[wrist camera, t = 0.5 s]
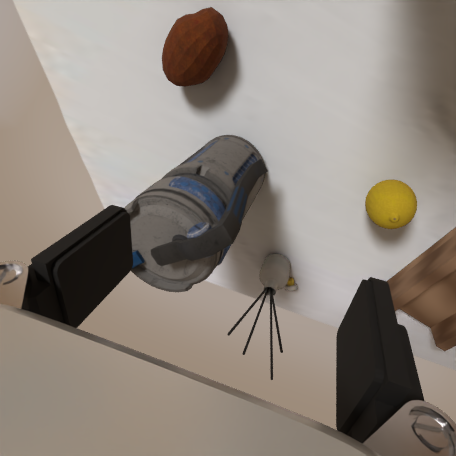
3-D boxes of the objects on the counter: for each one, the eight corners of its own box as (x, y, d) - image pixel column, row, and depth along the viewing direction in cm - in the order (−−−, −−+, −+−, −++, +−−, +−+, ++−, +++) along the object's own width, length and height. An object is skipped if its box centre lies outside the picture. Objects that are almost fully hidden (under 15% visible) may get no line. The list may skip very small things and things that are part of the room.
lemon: (416, 174, 38) (432, 201, 31) (401, 212, 41) (413, 244, 34) (369, 168, 39) (375, 193, 33) (358, 205, 42) (362, 235, 36)
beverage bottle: (293, 180, 43) (250, 301, 23) (217, 206, 50) (132, 319, 29) (264, 112, 40) (185, 186, 20) (187, 150, 46) (67, 235, 26)
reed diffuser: (251, 249, 52) (210, 343, 36) (282, 231, 48) (253, 327, 32) (286, 289, 54) (262, 395, 38) (319, 276, 50) (308, 386, 34)
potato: (247, 57, 37) (231, 59, 32) (189, 93, 42) (167, 101, 36) (220, -4, 35) (199, -12, 29) (162, 42, 39) (135, 42, 34)
